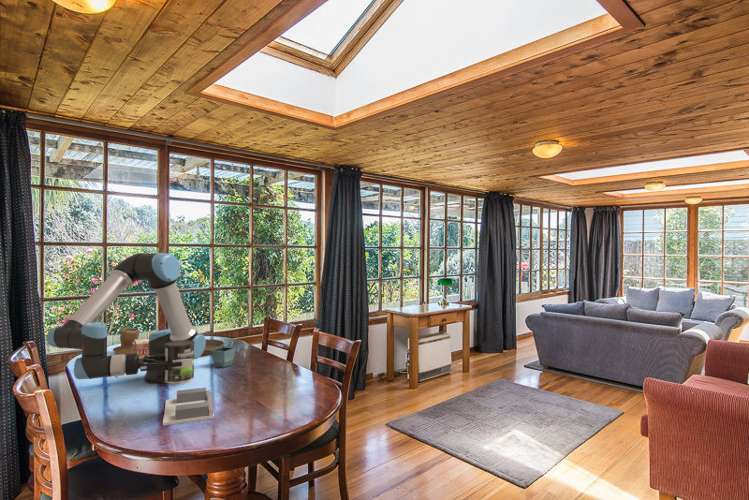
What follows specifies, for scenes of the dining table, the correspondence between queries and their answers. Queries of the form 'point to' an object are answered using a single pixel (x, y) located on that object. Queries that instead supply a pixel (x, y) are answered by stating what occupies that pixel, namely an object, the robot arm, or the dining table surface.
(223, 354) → the flower pot
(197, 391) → the block
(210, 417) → the mounting board
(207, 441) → the dining table surface
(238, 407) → the dining table surface
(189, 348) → the coffee can
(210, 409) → the metal rail
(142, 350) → the tan printed box
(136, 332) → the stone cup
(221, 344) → the plant saucer
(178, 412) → the block
